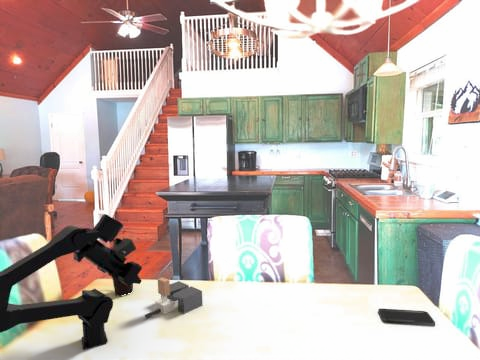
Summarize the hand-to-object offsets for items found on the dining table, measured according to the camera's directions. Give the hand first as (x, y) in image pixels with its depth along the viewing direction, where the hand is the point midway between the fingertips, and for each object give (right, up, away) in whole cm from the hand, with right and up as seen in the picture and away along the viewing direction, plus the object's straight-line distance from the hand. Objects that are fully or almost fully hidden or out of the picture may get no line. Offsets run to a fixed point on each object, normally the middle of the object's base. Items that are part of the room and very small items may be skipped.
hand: (137, 280), depth 106 cm
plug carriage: (+5, -13, +6) cm, 15 cm away
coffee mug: (-13, -12, +25) cm, 31 cm away
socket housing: (+12, -12, +13) cm, 21 cm away
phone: (+85, -12, -1) cm, 86 cm away
